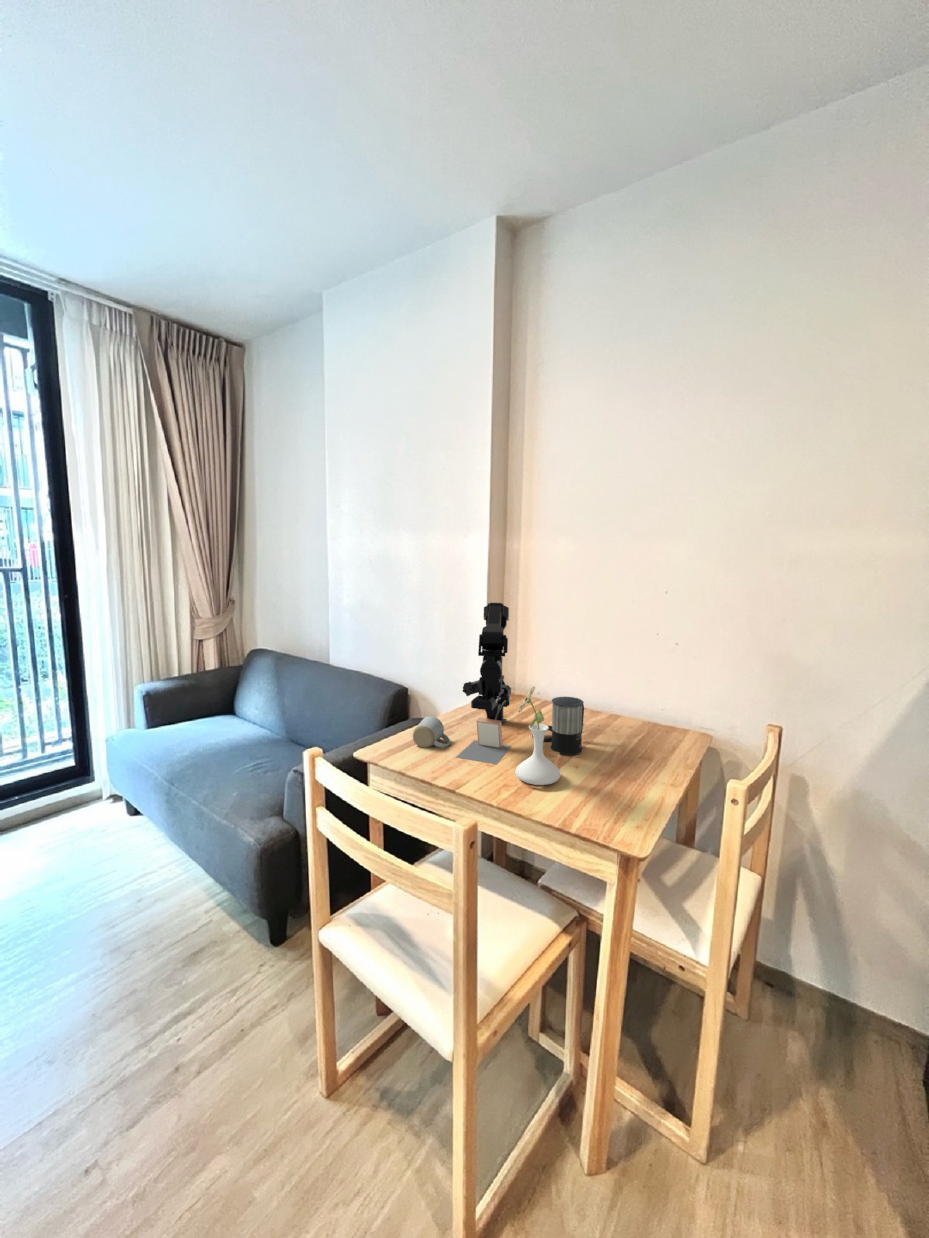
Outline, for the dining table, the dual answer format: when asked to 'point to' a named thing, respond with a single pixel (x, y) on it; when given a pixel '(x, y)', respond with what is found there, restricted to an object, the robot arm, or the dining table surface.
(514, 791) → the dining table surface
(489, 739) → the picture frame
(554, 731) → the milk frother
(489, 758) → the mat
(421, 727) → the ceramic mug
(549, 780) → the flower in vase
